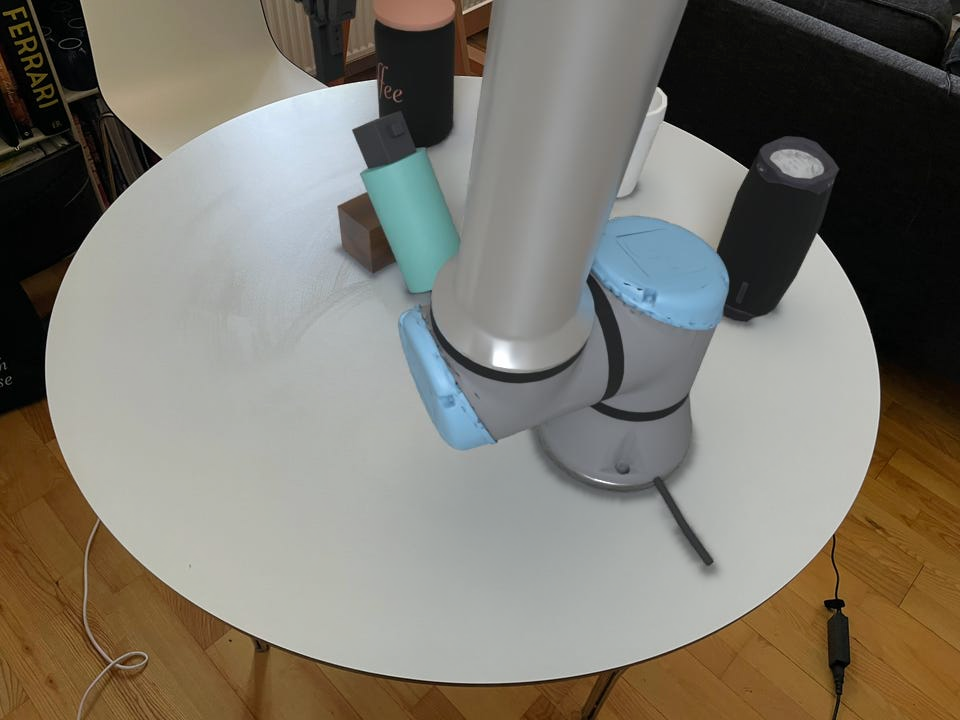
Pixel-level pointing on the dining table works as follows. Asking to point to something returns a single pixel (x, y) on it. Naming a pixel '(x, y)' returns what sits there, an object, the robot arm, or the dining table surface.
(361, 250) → the block
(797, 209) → the portable speaker
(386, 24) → the coffee jar
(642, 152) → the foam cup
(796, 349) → the dining table surface
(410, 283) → the spray bottle
